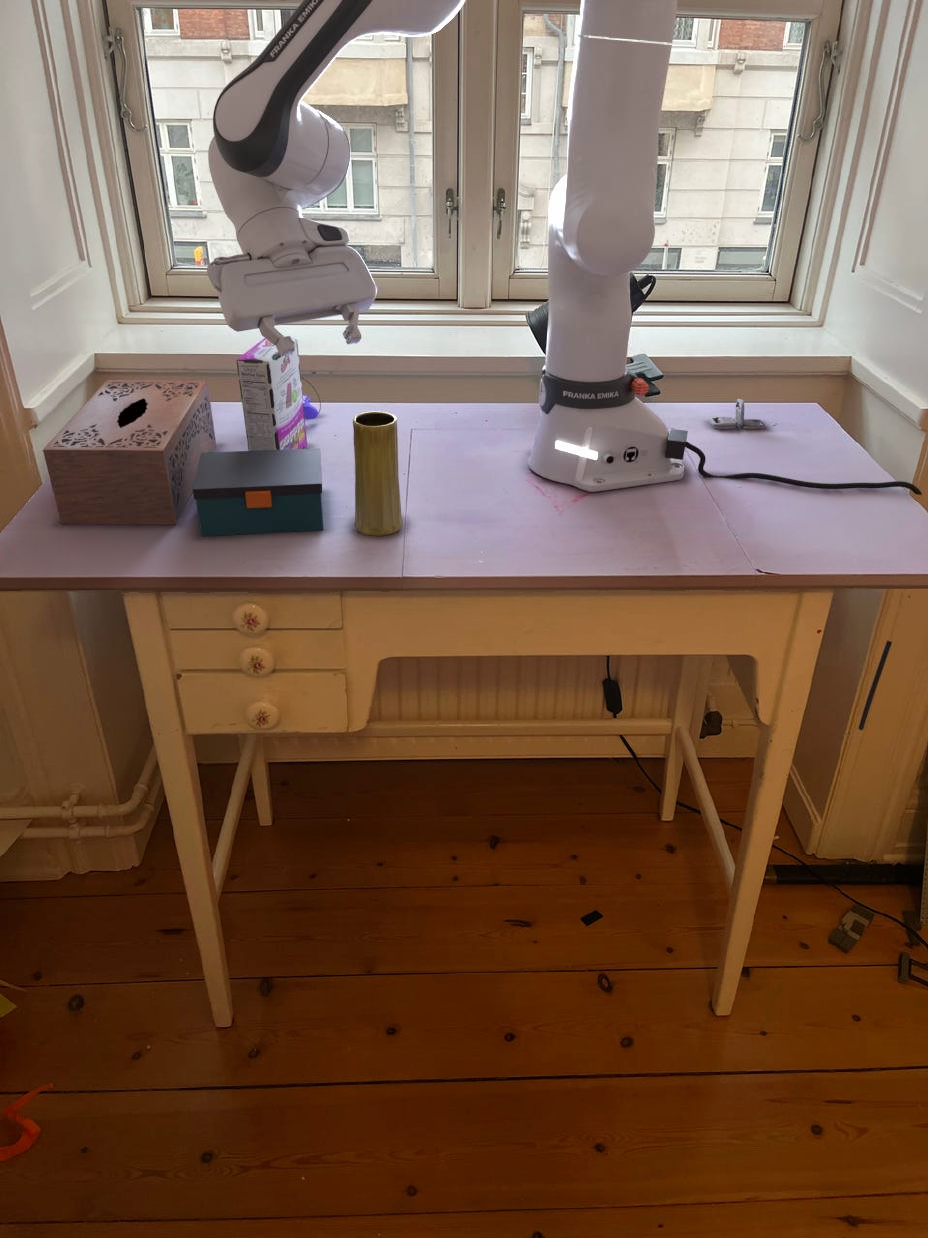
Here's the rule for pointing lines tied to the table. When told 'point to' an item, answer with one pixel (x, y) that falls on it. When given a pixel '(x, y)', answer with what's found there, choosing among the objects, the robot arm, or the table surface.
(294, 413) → the candy bar box
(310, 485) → the lunchbox
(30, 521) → the table surface
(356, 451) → the vase
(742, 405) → the grey t-shaped piece
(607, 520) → the table surface
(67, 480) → the tissue box cover
